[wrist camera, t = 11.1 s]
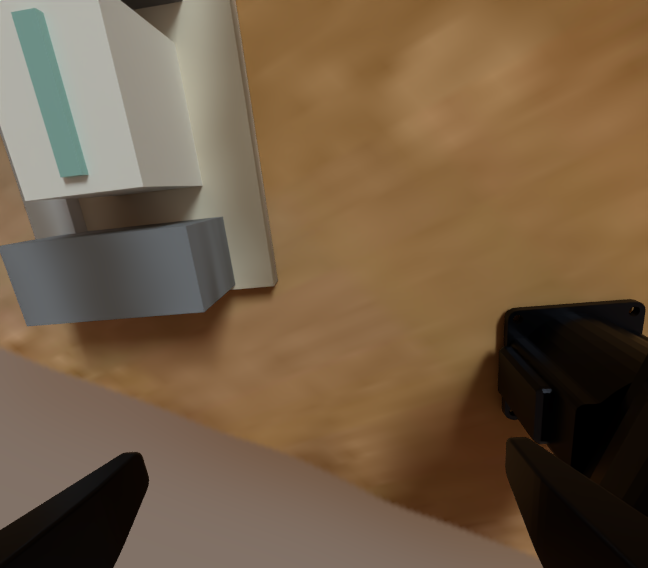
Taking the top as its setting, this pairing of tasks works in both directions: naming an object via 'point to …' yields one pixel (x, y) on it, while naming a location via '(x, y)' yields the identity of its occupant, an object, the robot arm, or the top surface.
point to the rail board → (161, 202)
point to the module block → (92, 101)
